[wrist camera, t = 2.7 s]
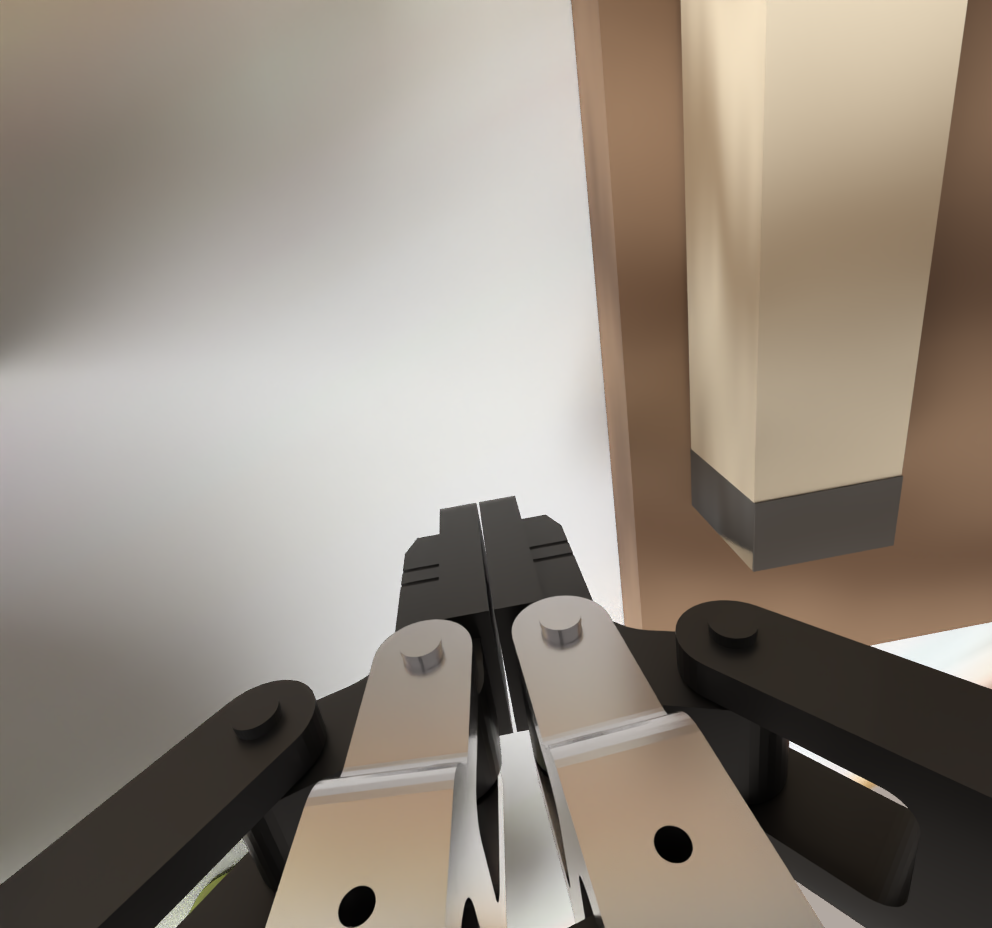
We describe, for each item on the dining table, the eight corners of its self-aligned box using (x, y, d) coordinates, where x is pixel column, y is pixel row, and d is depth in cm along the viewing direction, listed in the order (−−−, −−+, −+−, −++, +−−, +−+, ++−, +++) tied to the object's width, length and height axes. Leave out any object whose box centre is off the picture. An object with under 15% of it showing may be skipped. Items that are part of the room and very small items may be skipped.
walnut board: (544, -312, 10) (593, -573, 7) (1388, -442, 10) (1815, -747, 7) (626, 643, 19) (664, 729, 15) (1086, 555, 19) (1219, 621, 16)
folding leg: (672, -296, 9) (809, -612, 6) (856, -325, 9) (1099, -654, 6) (691, 505, 14) (765, 584, 11) (804, 484, 14) (910, 557, 11)
